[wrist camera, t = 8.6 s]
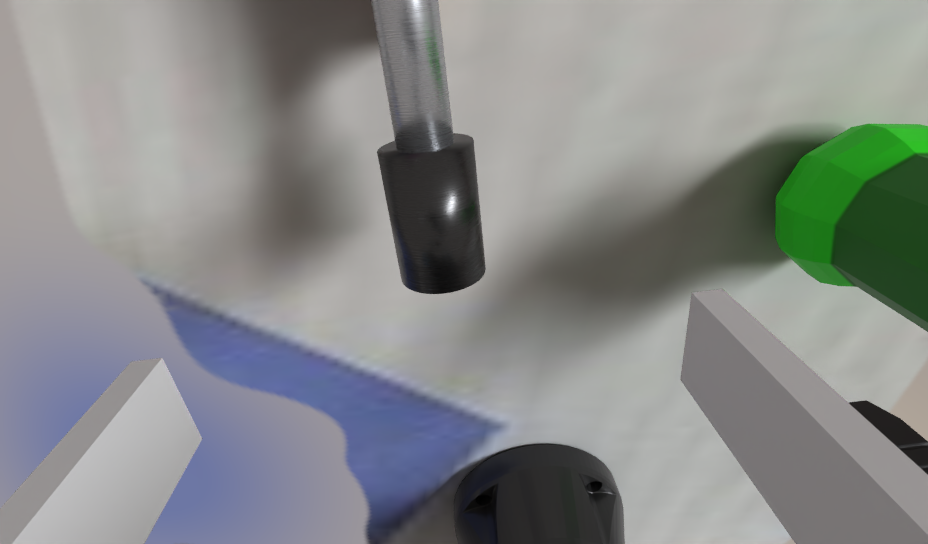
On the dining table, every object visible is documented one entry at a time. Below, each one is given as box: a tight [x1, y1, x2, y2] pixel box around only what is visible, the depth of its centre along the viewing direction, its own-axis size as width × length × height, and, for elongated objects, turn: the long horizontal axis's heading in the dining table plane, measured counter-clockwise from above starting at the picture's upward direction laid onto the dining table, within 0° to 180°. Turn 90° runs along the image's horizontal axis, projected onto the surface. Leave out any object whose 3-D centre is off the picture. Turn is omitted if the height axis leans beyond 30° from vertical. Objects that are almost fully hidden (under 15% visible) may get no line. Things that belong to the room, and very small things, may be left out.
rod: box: [371, 0, 486, 294], centre depth 20 cm, size 22×13×11 cm, turn 6°
